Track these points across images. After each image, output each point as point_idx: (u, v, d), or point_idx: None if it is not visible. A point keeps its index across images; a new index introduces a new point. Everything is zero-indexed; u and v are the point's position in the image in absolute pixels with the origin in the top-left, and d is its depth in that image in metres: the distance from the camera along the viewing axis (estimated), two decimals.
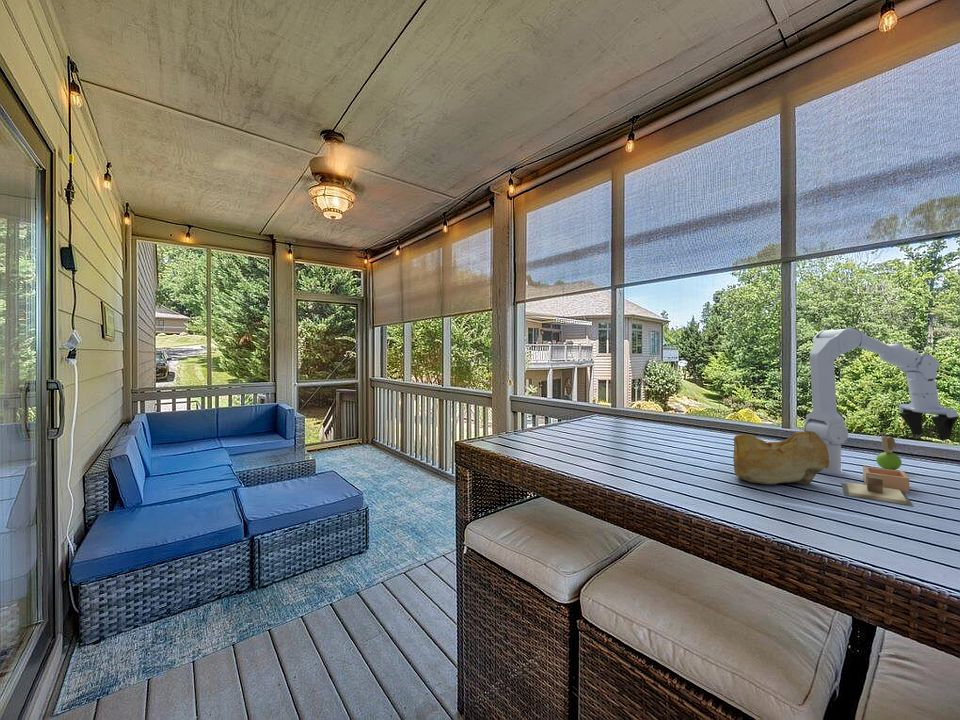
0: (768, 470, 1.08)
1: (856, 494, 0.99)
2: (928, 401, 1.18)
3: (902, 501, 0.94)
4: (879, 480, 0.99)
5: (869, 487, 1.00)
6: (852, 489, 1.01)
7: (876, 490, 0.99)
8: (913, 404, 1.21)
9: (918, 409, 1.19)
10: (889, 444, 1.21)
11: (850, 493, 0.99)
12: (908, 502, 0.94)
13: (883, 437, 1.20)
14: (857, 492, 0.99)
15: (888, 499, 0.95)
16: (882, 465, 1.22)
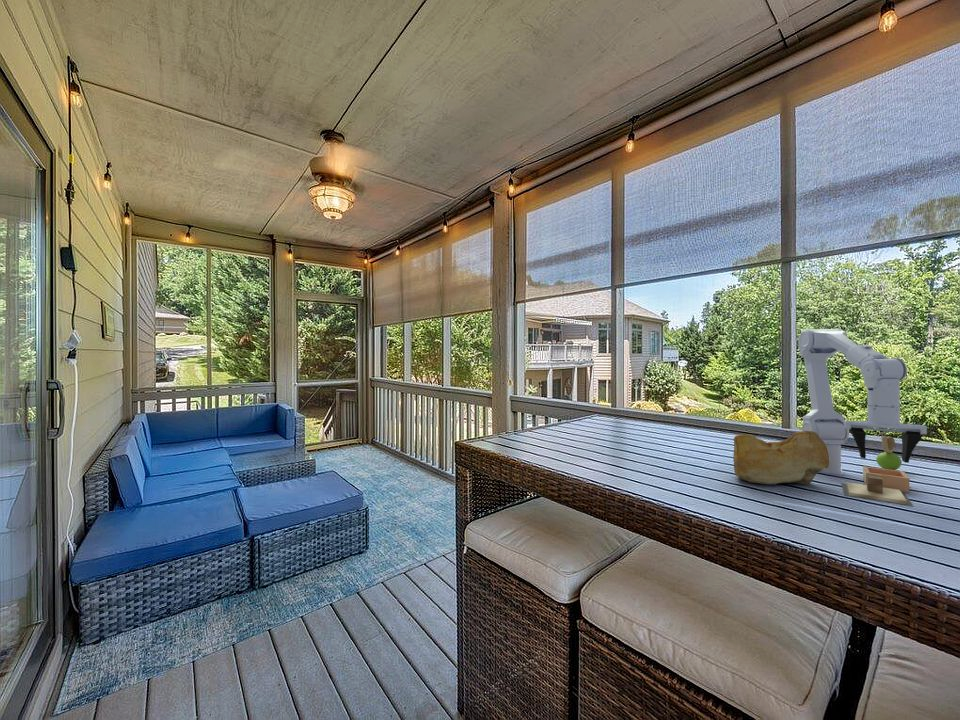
0: (768, 470, 1.08)
1: (856, 494, 0.99)
2: None
3: (902, 501, 0.94)
4: (879, 480, 0.99)
5: (869, 487, 1.00)
6: (852, 489, 1.01)
7: (876, 490, 0.99)
8: None
9: None
10: (889, 444, 1.21)
11: (850, 493, 0.99)
12: (908, 502, 0.94)
13: (883, 437, 1.20)
14: (857, 492, 0.99)
15: (888, 499, 0.95)
16: (882, 465, 1.22)
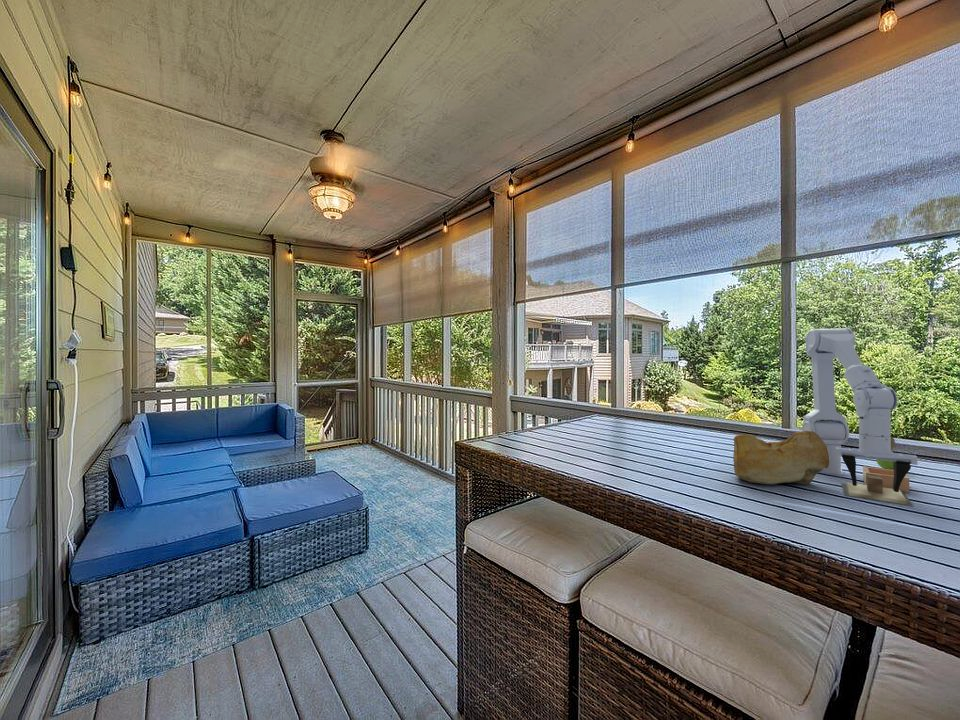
0: (768, 471, 1.08)
1: (856, 494, 0.99)
2: None
3: (902, 501, 0.94)
4: (879, 480, 0.99)
5: (869, 487, 1.00)
6: (852, 489, 1.01)
7: (876, 490, 0.99)
8: None
9: None
10: None
11: (850, 493, 0.99)
12: (908, 502, 0.94)
13: None
14: (857, 492, 0.99)
15: (888, 499, 0.95)
16: (882, 465, 1.22)
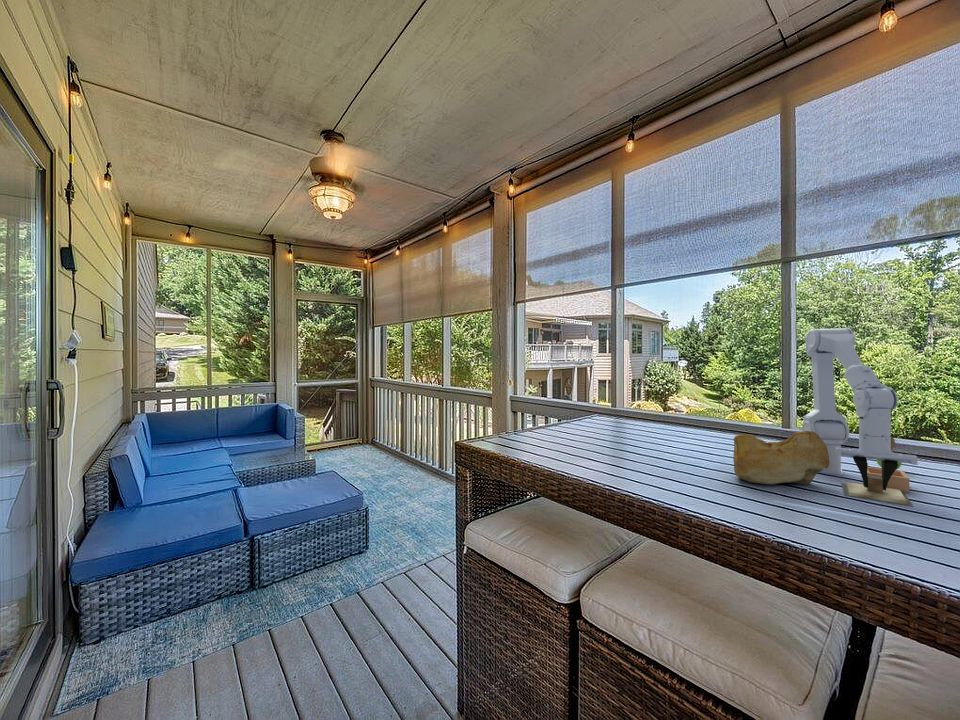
0: (768, 471, 1.08)
1: (856, 494, 0.99)
2: None
3: (902, 501, 0.94)
4: (879, 480, 0.99)
5: (869, 487, 1.00)
6: (852, 489, 1.01)
7: (876, 490, 0.99)
8: None
9: None
10: None
11: (850, 493, 0.99)
12: (908, 502, 0.94)
13: None
14: (857, 492, 0.99)
15: (888, 499, 0.95)
16: None
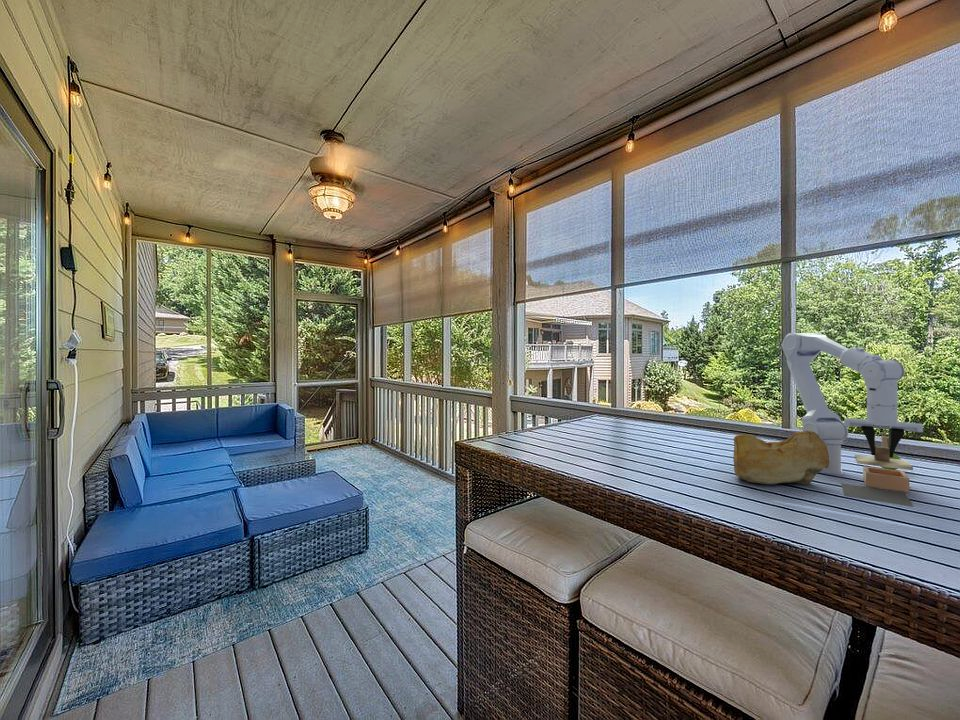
0: (768, 470, 1.08)
1: (864, 462, 1.03)
2: None
3: (908, 467, 0.98)
4: (886, 449, 1.03)
5: (876, 456, 1.05)
6: (860, 458, 1.06)
7: (883, 459, 1.04)
8: None
9: None
10: None
11: (858, 461, 1.04)
12: (908, 502, 0.94)
13: (883, 437, 1.20)
14: (865, 460, 1.04)
15: (895, 466, 1.00)
16: None
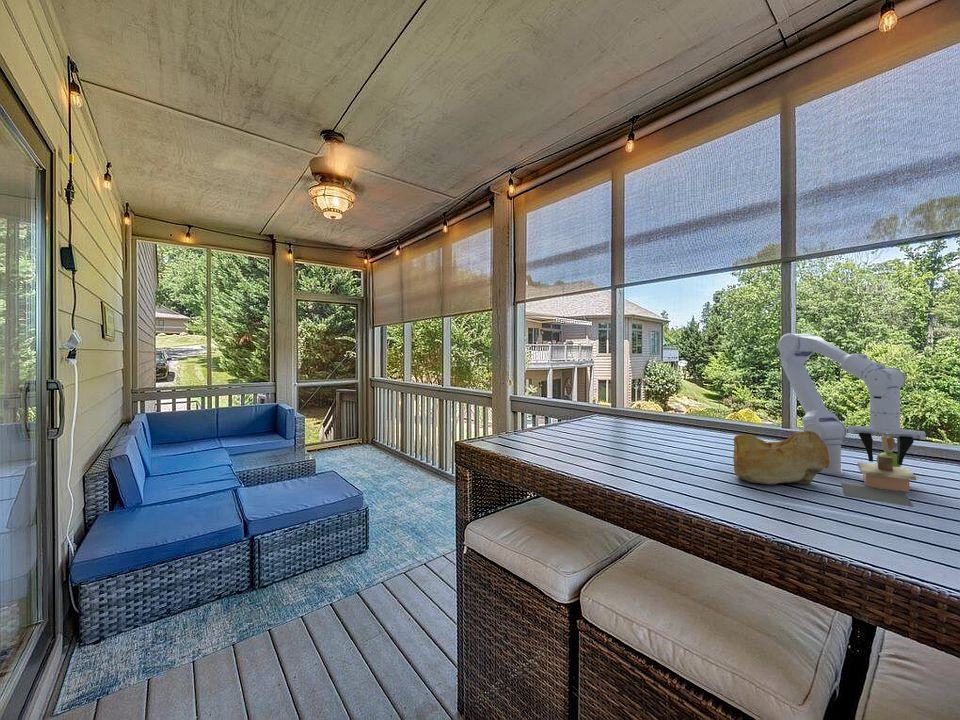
0: (768, 470, 1.08)
1: (868, 472, 1.05)
2: None
3: (911, 477, 1.00)
4: (889, 459, 1.05)
5: (880, 466, 1.06)
6: (864, 468, 1.08)
7: (886, 468, 1.05)
8: None
9: None
10: (889, 444, 1.21)
11: (862, 471, 1.06)
12: (908, 502, 0.94)
13: (883, 437, 1.20)
14: (869, 470, 1.06)
15: (898, 476, 1.01)
16: None
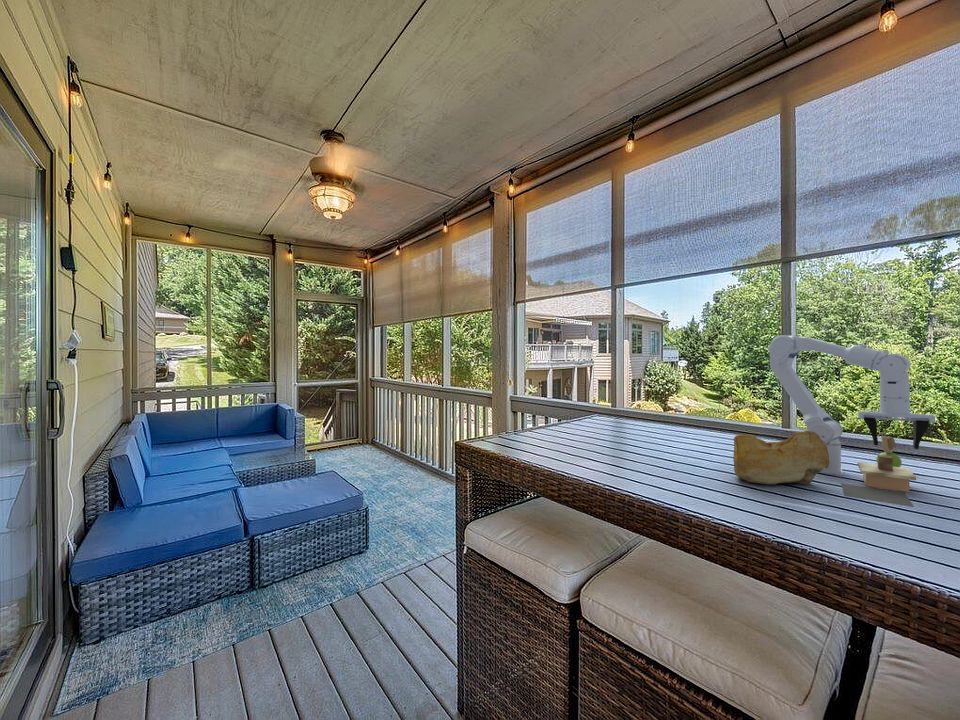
0: (768, 470, 1.08)
1: (868, 472, 1.05)
2: None
3: (911, 477, 1.00)
4: (889, 459, 1.05)
5: (880, 466, 1.06)
6: (864, 468, 1.08)
7: (886, 468, 1.05)
8: None
9: None
10: (889, 444, 1.21)
11: (862, 471, 1.06)
12: (908, 502, 0.94)
13: (883, 437, 1.20)
14: (869, 470, 1.06)
15: (898, 476, 1.01)
16: None
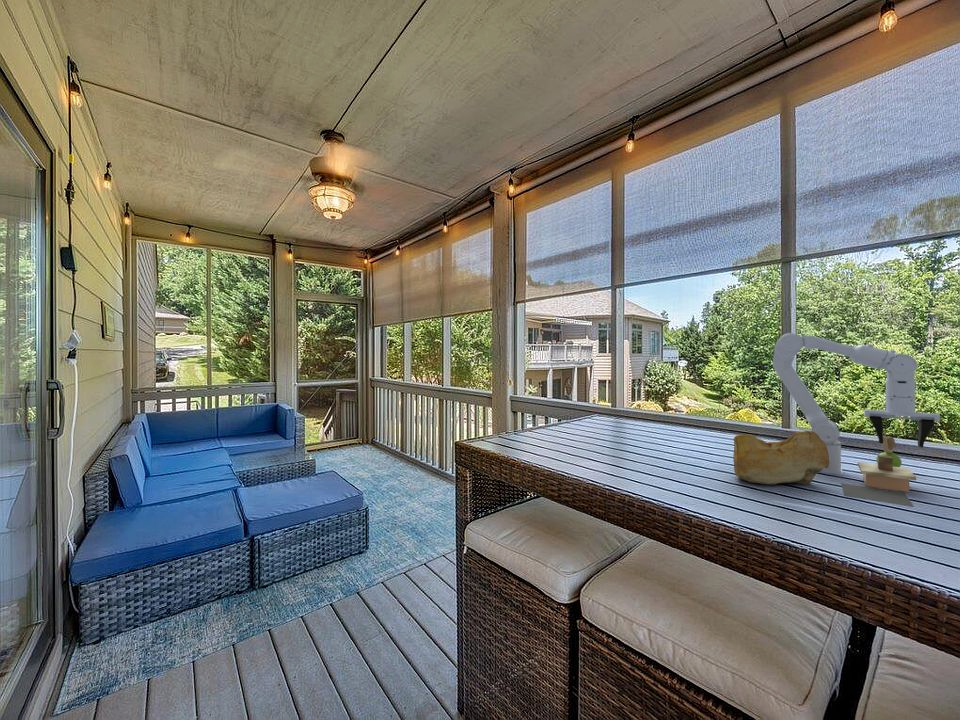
0: (768, 470, 1.08)
1: (868, 472, 1.05)
2: None
3: (911, 477, 1.00)
4: (889, 459, 1.05)
5: (880, 466, 1.06)
6: (864, 468, 1.08)
7: (886, 468, 1.05)
8: None
9: None
10: (889, 444, 1.21)
11: (862, 471, 1.06)
12: (908, 502, 0.94)
13: (883, 437, 1.20)
14: (869, 470, 1.06)
15: (898, 476, 1.01)
16: None
